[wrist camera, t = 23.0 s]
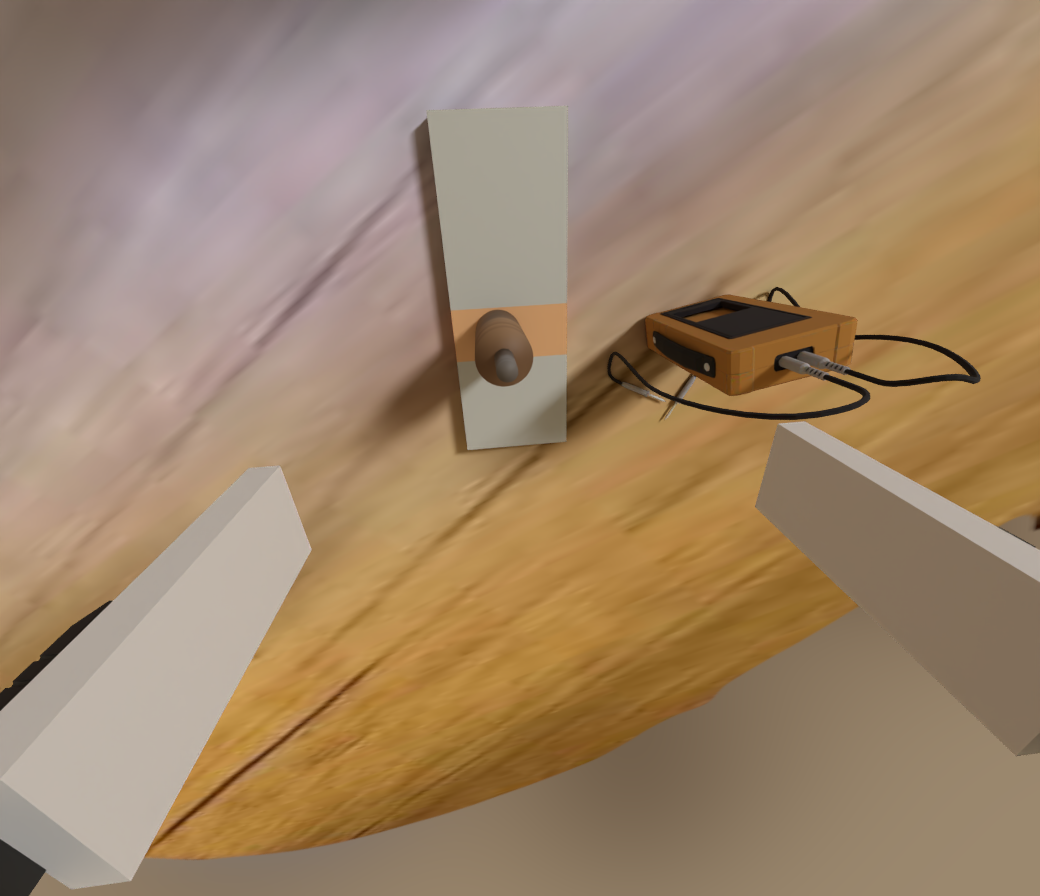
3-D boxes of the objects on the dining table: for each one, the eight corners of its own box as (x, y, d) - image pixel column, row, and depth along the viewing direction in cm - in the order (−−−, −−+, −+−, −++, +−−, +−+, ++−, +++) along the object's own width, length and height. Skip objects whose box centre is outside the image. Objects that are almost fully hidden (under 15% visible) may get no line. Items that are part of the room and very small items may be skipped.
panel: (428, 116, 26) (426, 110, 25) (564, 111, 27) (567, 105, 26) (467, 444, 37) (467, 450, 36) (563, 436, 37) (566, 441, 36)
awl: (471, 313, 31) (468, 344, 21) (517, 306, 31) (536, 333, 21) (479, 359, 32) (480, 407, 23) (523, 352, 32) (543, 397, 23)
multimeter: (614, 431, 38) (736, 593, 20) (599, 326, 33) (738, 416, 16) (766, 391, 38) (1027, 521, 20) (772, 280, 33) (1117, 318, 15)
